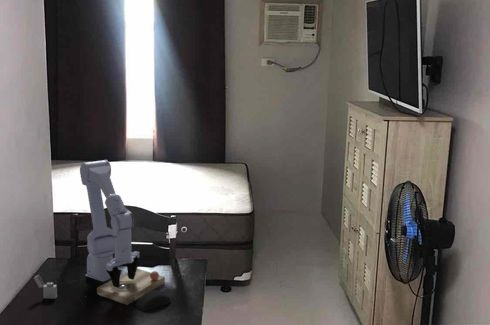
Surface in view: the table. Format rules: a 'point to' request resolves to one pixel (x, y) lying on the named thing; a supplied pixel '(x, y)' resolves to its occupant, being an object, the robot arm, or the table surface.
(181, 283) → the table surface
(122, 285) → the steel ball
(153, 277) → the red ball
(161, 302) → the computer mouse
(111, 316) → the table surface
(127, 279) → the maple board
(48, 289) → the lighter
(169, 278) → the table surface
